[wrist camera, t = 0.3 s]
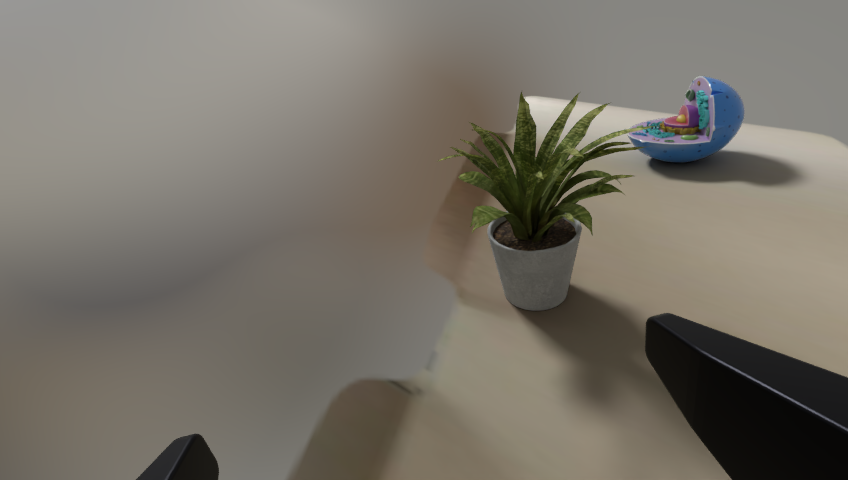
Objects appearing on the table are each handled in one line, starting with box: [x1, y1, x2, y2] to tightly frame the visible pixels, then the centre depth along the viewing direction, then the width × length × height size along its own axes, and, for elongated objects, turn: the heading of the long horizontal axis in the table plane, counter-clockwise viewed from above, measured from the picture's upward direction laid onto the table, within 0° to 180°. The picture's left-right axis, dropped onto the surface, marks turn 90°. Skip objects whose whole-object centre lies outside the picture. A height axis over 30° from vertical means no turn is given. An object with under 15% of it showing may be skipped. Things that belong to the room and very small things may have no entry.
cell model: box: [627, 76, 744, 163], centre depth 52 cm, size 10×12×10 cm
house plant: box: [440, 92, 655, 311], centre depth 32 cm, size 14×14×16 cm
